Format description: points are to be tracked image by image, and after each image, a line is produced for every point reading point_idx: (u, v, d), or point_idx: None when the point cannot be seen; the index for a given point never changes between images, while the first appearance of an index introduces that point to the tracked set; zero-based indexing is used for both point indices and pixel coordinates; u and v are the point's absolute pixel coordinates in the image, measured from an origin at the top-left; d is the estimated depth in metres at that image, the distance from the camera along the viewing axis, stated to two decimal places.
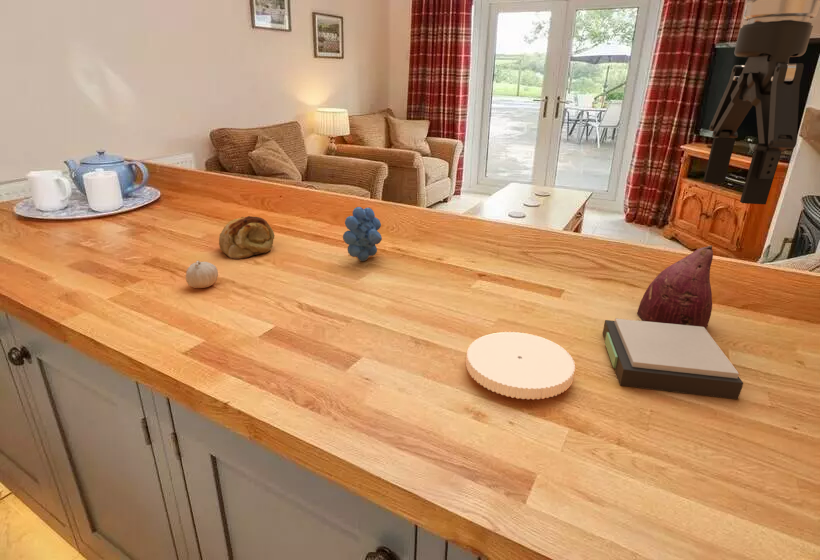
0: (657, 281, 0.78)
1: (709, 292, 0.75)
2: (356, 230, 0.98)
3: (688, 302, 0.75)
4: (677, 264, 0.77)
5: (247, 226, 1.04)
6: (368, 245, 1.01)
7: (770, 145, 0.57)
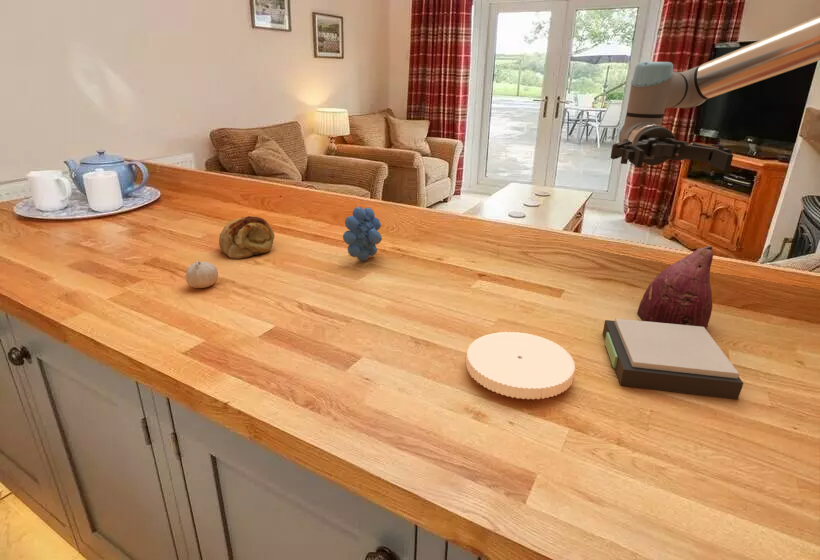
0: (657, 281, 0.78)
1: (709, 292, 0.75)
2: (356, 230, 0.98)
3: (688, 302, 0.75)
4: (677, 264, 0.77)
5: (247, 226, 1.04)
6: (368, 245, 1.01)
7: (612, 158, 0.90)
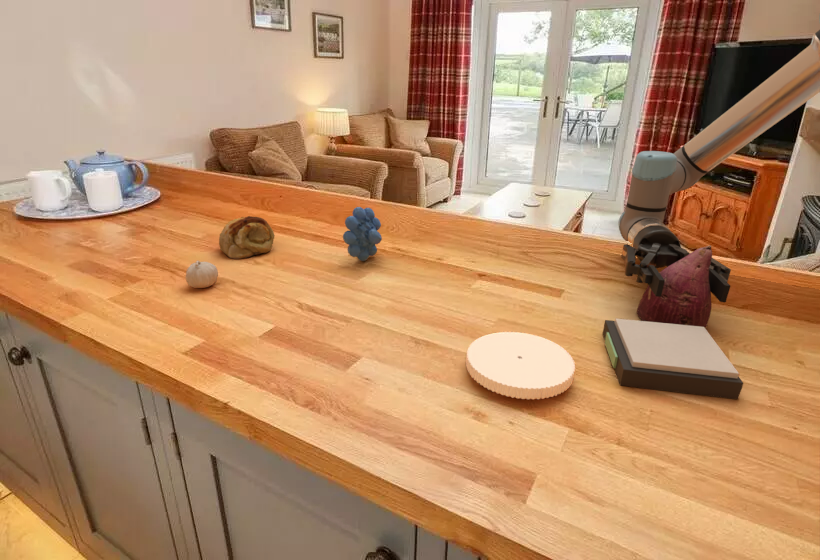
0: None
1: (708, 292, 0.75)
2: (356, 230, 0.98)
3: (687, 302, 0.75)
4: (676, 264, 0.77)
5: (247, 226, 1.04)
6: (368, 245, 1.01)
7: (628, 275, 0.82)
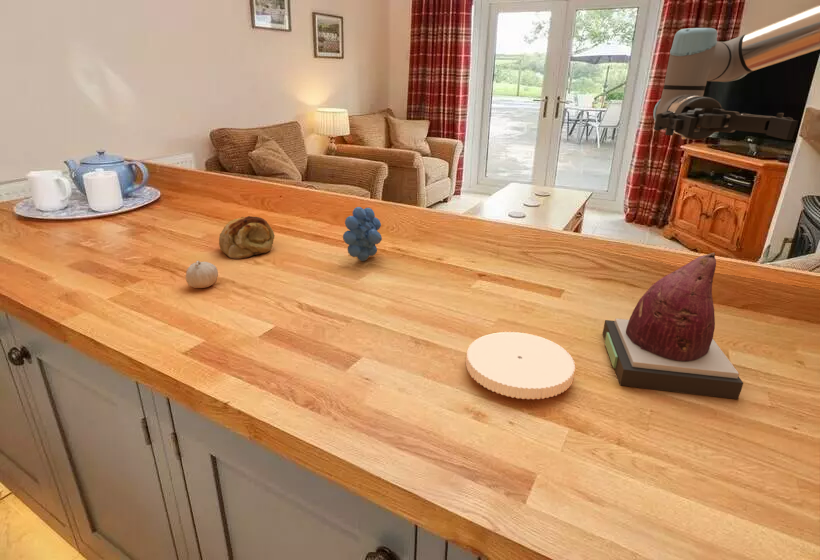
0: (649, 295, 0.65)
1: (711, 309, 0.62)
2: (356, 230, 0.98)
3: (686, 321, 0.62)
4: (673, 275, 0.64)
5: (247, 226, 1.04)
6: (368, 245, 1.01)
7: (656, 129, 0.82)
